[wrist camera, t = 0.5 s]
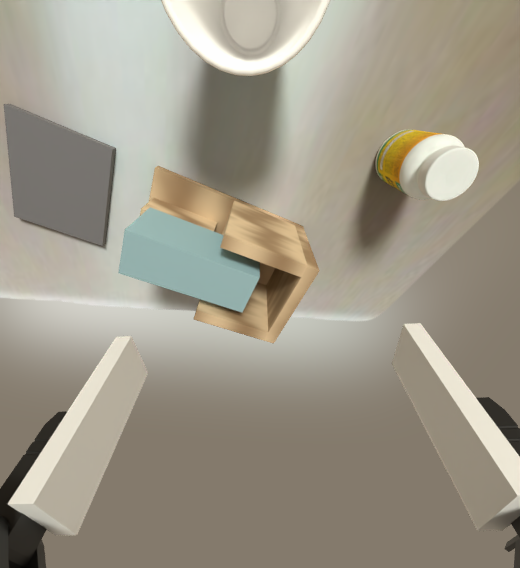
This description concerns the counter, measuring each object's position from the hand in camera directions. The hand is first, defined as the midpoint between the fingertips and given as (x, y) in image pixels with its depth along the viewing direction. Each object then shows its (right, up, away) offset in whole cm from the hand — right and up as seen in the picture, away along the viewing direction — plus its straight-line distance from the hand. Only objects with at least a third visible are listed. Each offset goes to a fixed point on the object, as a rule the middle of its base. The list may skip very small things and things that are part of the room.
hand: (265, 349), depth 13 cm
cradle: (-5, +10, +20) cm, 23 cm away
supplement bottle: (+15, +17, +16) cm, 28 cm away
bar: (-7, +7, +16) cm, 19 cm away
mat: (-23, +15, +17) cm, 32 cm away
